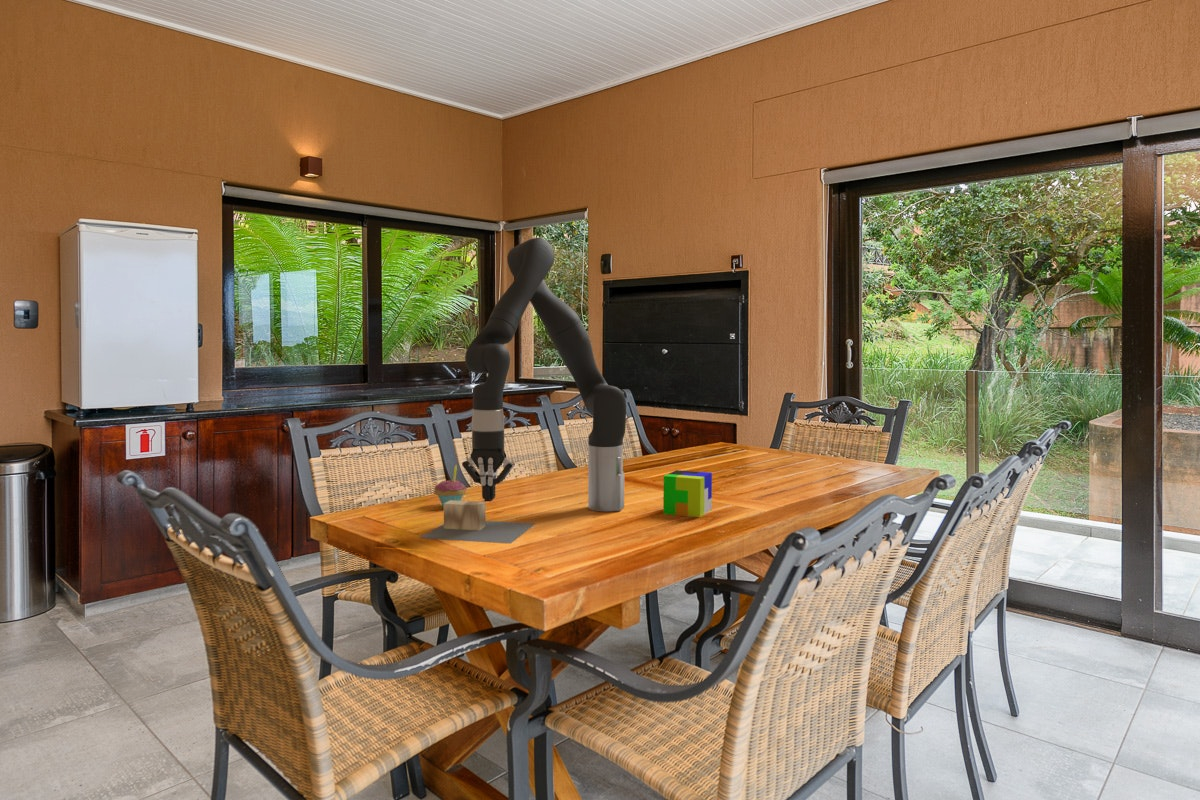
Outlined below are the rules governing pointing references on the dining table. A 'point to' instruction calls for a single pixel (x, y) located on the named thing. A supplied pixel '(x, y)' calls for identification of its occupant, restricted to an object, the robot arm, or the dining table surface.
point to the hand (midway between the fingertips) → (488, 500)
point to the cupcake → (450, 489)
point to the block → (464, 515)
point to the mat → (482, 532)
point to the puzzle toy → (687, 493)
